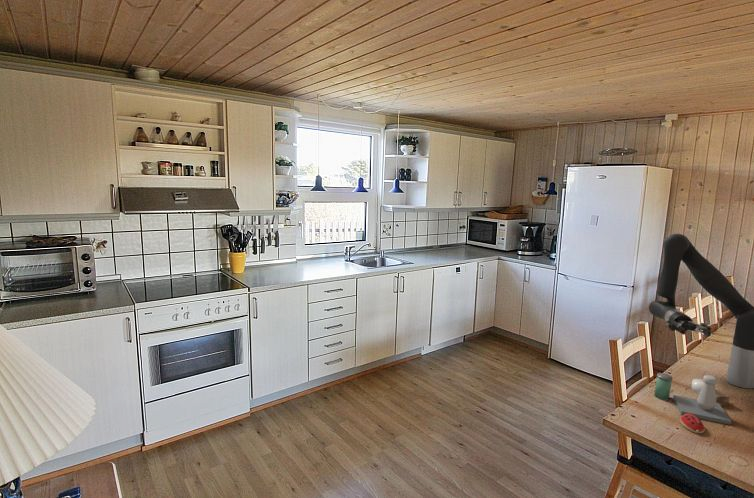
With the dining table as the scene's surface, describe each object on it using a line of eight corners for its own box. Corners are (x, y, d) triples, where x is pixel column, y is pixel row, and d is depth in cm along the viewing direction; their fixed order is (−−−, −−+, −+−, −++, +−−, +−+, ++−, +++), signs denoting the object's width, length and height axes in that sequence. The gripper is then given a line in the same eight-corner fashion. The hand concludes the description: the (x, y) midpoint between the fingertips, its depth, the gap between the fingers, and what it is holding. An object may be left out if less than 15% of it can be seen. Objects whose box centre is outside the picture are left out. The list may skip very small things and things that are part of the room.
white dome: (709, 389, 177) (710, 380, 176) (714, 397, 170) (715, 388, 170) (689, 385, 179) (690, 377, 179) (693, 393, 173) (695, 384, 172)
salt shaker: (711, 405, 161) (716, 374, 159) (717, 413, 156) (723, 381, 153) (693, 402, 163) (698, 372, 161) (699, 410, 158) (704, 378, 155)
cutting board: (718, 406, 163) (719, 403, 163) (730, 424, 151) (731, 421, 151) (672, 398, 169) (673, 394, 169) (681, 414, 157) (681, 411, 157)
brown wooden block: (717, 399, 169) (719, 390, 168) (727, 406, 164) (729, 396, 163) (705, 399, 169) (707, 390, 168) (715, 406, 164) (717, 396, 163)
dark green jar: (667, 395, 171) (670, 374, 170) (670, 401, 167) (673, 380, 165) (652, 392, 173) (655, 371, 172) (655, 398, 169) (658, 377, 167)
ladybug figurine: (696, 420, 154) (697, 412, 153) (709, 436, 145) (711, 427, 144) (675, 418, 156) (676, 409, 155) (687, 433, 146) (689, 424, 146)
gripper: (660, 310, 182) (677, 322, 167) (697, 313, 179) (718, 325, 163) (658, 326, 183) (675, 340, 168) (695, 329, 180) (716, 343, 165)
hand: (696, 333), depth 166 cm, fingers open, 8 cm apart
